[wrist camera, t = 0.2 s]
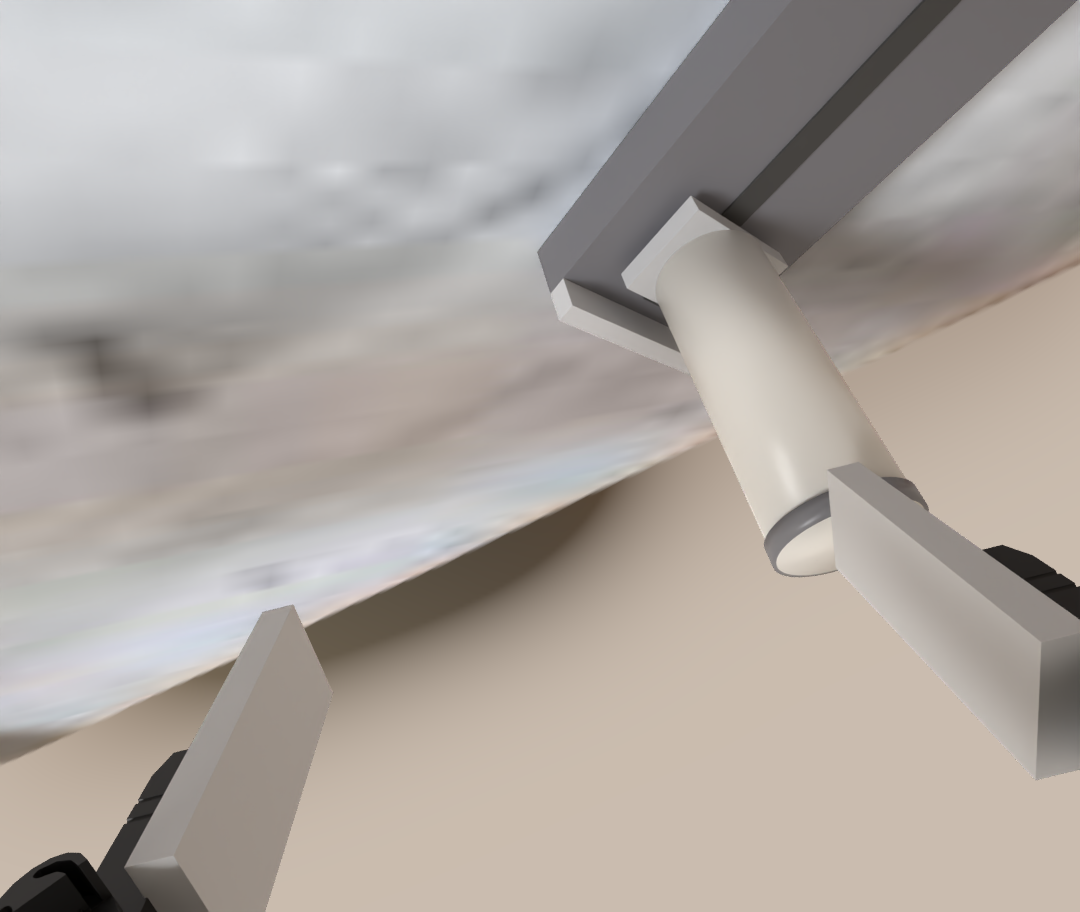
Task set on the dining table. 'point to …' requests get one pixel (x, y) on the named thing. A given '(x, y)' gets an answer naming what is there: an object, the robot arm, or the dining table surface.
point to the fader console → (776, 136)
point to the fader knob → (761, 380)
